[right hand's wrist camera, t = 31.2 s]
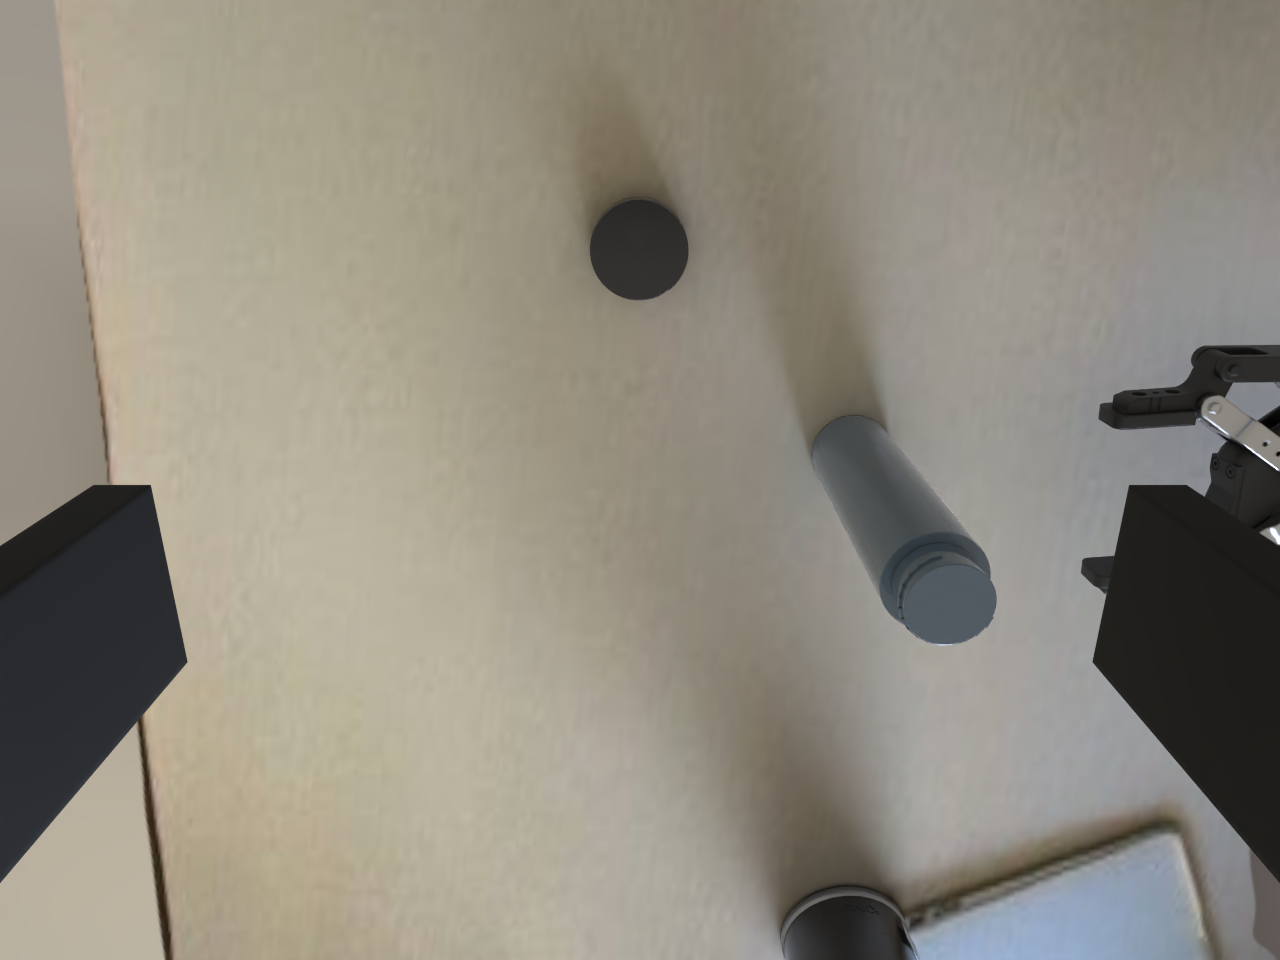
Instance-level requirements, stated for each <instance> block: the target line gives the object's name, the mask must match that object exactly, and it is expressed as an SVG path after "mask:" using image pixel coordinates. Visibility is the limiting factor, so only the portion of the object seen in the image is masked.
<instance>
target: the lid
mask: <svg viewBox="0 0 1280 960" xmlns="http://www.w3.org/2000/svg"><path fill="white" fill-rule="evenodd" d="M590 256H591V262H592V266H593V268H594V271H595V273H596V275H597V277H598V278H599V280H600V281H601V282H602V283H603V284H604V286H605V287H606V288H608V289H609V290H610V291H611V292H613V293H615V294H616V295H618V296H621V297H623V298H626V299H630V300H648V299H652V298H655V297H658V296H660V295H662V294H664V293H666V292H667V291H668V290H670V289H671V288H672V287H673V286H674V285H675V284H676V283H677V281H678V280H679V279H680V277H681V276H682V274H683V272H684V269H685V267H686V264H687V259H688V241H687V236H686V233H685V231H684V228H683V226H682V224H681V222H680V220H679V218H678V217H677V216H676V214H675V213H674V212H673V211H672V210H671V209H670V208H669V207H668V206H666V205H665V204H663V203H661V202H659V201H657V200H655V199H651V198H647V197H631V198H627V199H624V200H621V201H619V202H617V203H615V204H614V205H612V206H611V207H610V208H608V209H607V210H606V211H605V213H604V214H603V215H602V216H601V218H600V219H599V221H598V223H597V225H596V227H595V229H594V232H593V235H592V238H591V244H590Z"/></svg>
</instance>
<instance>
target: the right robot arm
mask: <svg viewBox="0 0 1280 960" xmlns="http://www.w3.org/2000/svg"><path fill="white" fill-rule="evenodd" d="M186 663H187V657H186V653H185V648H184V643H183V638H182V633H181V629H180V624H179V619H178V614H177V609H176V604H175V600H174V595H173V590H172V585H171V580H170V576H169V571H168V566H167V561H166V556H165V552H164V547H163V542H162V537H161V532H160V527H159V523H158V518H157V513H156V508H155V503H154V499H153V494H152V489H151V485H93V486H91V487H90V488H88V489H87V490H85V491H84V492H82V493H81V494H79V495H78V496H76V497H75V498H73V499H72V500H70V501H68V502H67V503H65V504H64V505H62V506H61V507H59V508H58V509H56V510H55V511H53V512H52V513H50V514H49V515H47V516H46V517H44V518H42V519H41V520H39V521H38V522H36V523H35V524H33V525H32V526H30V527H29V528H27V529H26V530H24V531H23V532H21V533H19V534H18V535H16V536H15V537H13V538H12V539H10V540H9V541H7V542H6V543H4V544H3V545H1V546H0V883H1V881H2V880H3V879H4V878H5V877H6V875H7V874H8V873H9V872H10V871H11V869H12V868H13V867H14V866H15V865H16V864H17V863H18V861H19V860H20V859H21V858H22V857H23V855H24V854H25V853H26V852H27V851H28V850H29V848H30V847H31V846H32V845H33V844H34V842H35V841H36V840H37V839H38V838H39V837H40V835H41V834H42V833H43V832H44V831H45V829H46V828H47V827H48V826H49V825H50V824H51V822H52V821H53V820H54V819H55V818H56V816H57V815H58V814H59V813H60V812H61V811H62V809H63V808H64V807H65V806H66V805H67V804H68V802H69V801H70V800H71V799H72V798H73V796H74V795H75V794H76V793H77V792H78V791H79V789H80V788H81V787H82V786H83V785H84V784H85V782H86V781H87V780H88V779H89V778H90V776H91V775H92V774H93V773H94V772H95V770H96V769H97V768H98V767H99V766H100V765H101V763H102V762H103V761H104V760H105V759H106V757H107V756H108V755H109V754H110V753H111V752H112V750H113V749H114V748H115V747H116V746H117V745H118V743H119V742H120V741H121V740H122V739H123V738H124V736H125V735H126V734H127V733H128V732H129V730H130V729H131V728H132V727H133V726H134V725H135V723H136V722H137V721H138V720H139V719H140V717H141V716H142V715H143V714H144V713H145V712H146V710H147V709H148V708H149V707H150V706H151V704H152V703H153V702H154V701H155V700H156V699H157V697H158V696H159V695H160V694H161V693H162V692H163V690H164V689H165V688H166V687H167V686H168V684H169V683H170V682H171V681H172V680H173V679H174V677H175V676H176V675H177V674H178V673H179V671H180V670H181V669H182V668H183V667H184V666H185V664H186ZM1093 663H1094V664H1095V666H1096V667H1097V668H1098V669H1099V670H1100V671H1101V673H1102V674H1103V675H1104V676H1105V677H1106V679H1107V680H1108V681H1109V682H1110V683H1111V684H1112V686H1113V687H1114V688H1115V689H1116V690H1117V692H1118V693H1119V694H1120V695H1121V696H1122V697H1123V699H1124V700H1125V701H1126V702H1127V703H1128V704H1129V706H1130V707H1131V708H1132V709H1133V710H1134V712H1135V713H1136V714H1137V715H1138V716H1139V717H1140V719H1141V720H1142V721H1143V722H1144V723H1145V725H1146V726H1147V727H1148V728H1149V729H1150V730H1151V732H1152V733H1153V734H1154V735H1155V736H1156V738H1157V739H1158V740H1159V741H1160V742H1161V743H1162V745H1163V746H1164V747H1165V748H1166V749H1167V750H1168V752H1169V753H1170V754H1171V755H1172V756H1173V758H1174V759H1175V760H1176V761H1177V762H1178V763H1179V765H1180V766H1181V767H1182V768H1183V769H1184V771H1185V772H1186V773H1187V774H1188V775H1189V776H1190V778H1191V779H1192V780H1193V781H1194V782H1195V784H1196V785H1197V786H1198V787H1199V788H1200V789H1201V791H1202V792H1203V793H1204V794H1205V795H1206V796H1207V798H1208V799H1209V800H1210V801H1211V802H1212V804H1213V805H1214V806H1215V807H1216V808H1217V809H1218V811H1219V812H1220V813H1221V814H1222V815H1223V817H1224V818H1225V819H1226V820H1227V821H1228V822H1229V824H1230V825H1231V826H1232V827H1233V828H1234V829H1235V831H1236V832H1237V833H1238V834H1239V835H1240V837H1241V838H1242V839H1243V840H1244V841H1245V842H1246V844H1247V845H1248V846H1249V847H1250V848H1251V850H1252V851H1253V852H1254V853H1255V854H1256V855H1257V857H1258V858H1259V859H1260V860H1261V861H1262V863H1263V864H1264V865H1265V866H1266V867H1267V868H1268V870H1269V871H1270V872H1271V873H1272V874H1273V875H1274V877H1275V878H1276V879H1277V880H1278V881H1279V883H1280V546H1279V545H1277V544H1276V543H1274V542H1273V541H1271V540H1270V539H1268V538H1267V537H1265V536H1264V535H1262V534H1261V533H1259V532H1257V531H1256V530H1254V529H1253V528H1251V527H1250V526H1248V525H1247V524H1245V523H1244V522H1242V521H1241V520H1239V519H1238V518H1236V517H1235V516H1233V515H1231V514H1230V513H1228V512H1227V511H1225V510H1224V509H1222V508H1221V507H1219V506H1218V505H1216V504H1215V503H1213V502H1212V501H1210V500H1208V499H1207V498H1205V497H1204V496H1202V495H1201V494H1199V493H1198V492H1196V491H1195V490H1193V489H1192V488H1190V487H1189V486H1187V485H1129V489H1128V494H1127V499H1126V503H1125V508H1124V513H1123V518H1122V523H1121V527H1120V532H1119V537H1118V542H1117V547H1116V552H1115V556H1114V561H1113V566H1112V571H1111V576H1110V580H1109V585H1108V590H1107V595H1106V600H1105V604H1104V609H1103V614H1102V619H1101V624H1100V629H1099V633H1098V638H1097V643H1096V648H1095V653H1094V657H1093Z"/></svg>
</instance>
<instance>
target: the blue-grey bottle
mask: <svg viewBox="0 0 1280 960" xmlns="http://www.w3.org/2000/svg"><path fill="white" fill-rule="evenodd" d="M812 464H813V467H814V470H815V472H816V474H817V476H818V478H819V480H820V481H821V483H822V485H823V487H824V489H825V491H826V493H827V495H828V497H829V499H830V501H831V503H832V505H833V507H834V509H835V511H836V513H837V515H838V517H839V519H840V521H841V523H842V525H843V526H844V528H845V530H846V532H847V534H848V536H849V538H850V540H851V542H852V544H853V546H854V548H855V550H856V552H857V554H858V556H859V558H860V560H861V562H862V564H863V566H864V568H865V569H866V571H867V573H868V575H869V577H870V579H871V581H872V583H873V585H874V587H875V589H876V591H877V593H878V595H879V597H880V599H881V601H882V603H883V605H884V606H885V608H886V610H887V611H888V612H889V614H890V615H891V616H892V617H893V618H894V619H896V620H897V621H899V622H900V623H902V624H904V625H905V626H906V628H907V629H908V630H909V631H910V632H911V633H913V634H914V635H915V636H916V637H917V638H920V639H922V640H924V641H926V642H928V643H932V644H936V645H954V644H958V643H961V642H964V641H967V640H969V639H971V638H973V637H974V636H977V635H978V634H979V633H980V632H981V631H983V630H984V629H985V628H987V627H988V625H989V624H990V622H991V621H992V619H993V614H994V611H995V608H996V591H995V588H994V585H993V583H992V582H991V580H990V566H989V562H988V559H987V557H986V555H985V553H984V552H983V551H982V549H981V548H980V547H979V545H978V544H977V543H976V542H975V540H974V539H973V538H972V537H971V535H970V534H969V533H968V532H967V531H966V529H965V528H964V527H963V526H962V524H961V523H960V522H959V521H958V519H957V518H956V517H955V516H954V515H953V513H952V512H951V511H950V510H949V508H948V507H947V506H946V505H945V503H944V502H943V501H942V500H941V499H940V497H939V496H938V495H937V494H936V492H935V491H934V490H933V489H932V487H931V486H930V485H929V484H928V483H927V481H926V480H925V479H924V478H923V476H922V475H921V474H920V473H919V471H918V470H917V469H916V468H915V467H914V465H913V464H912V463H911V462H910V460H909V459H908V458H907V457H906V455H905V454H904V453H903V452H902V451H901V449H900V448H899V447H898V446H897V444H896V443H895V442H894V441H893V439H892V438H891V437H890V436H889V435H888V433H887V432H886V431H885V430H884V428H883V427H882V426H881V425H880V424H878V423H877V422H876V421H874V420H872V419H870V418H868V417H864V416H858V415H851V416H845V417H841V418H838V419H836V420H834V421H832V422H831V423H829V424H828V425H827V426H825V427H824V428H823V429H822V430H821V432H820V433H819V434H818V436H817V437H816V439H815V441H814V444H813V448H812Z"/></svg>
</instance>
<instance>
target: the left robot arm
mask: <svg viewBox="0 0 1280 960" xmlns="http://www.w3.org/2000/svg"><path fill="white" fill-rule="evenodd" d="M1191 363H1192V365H1193V367H1194V368H1193V369H1192V371H1191V373H1190V375H1189V377H1188V379H1187V380H1186V381H1185V382H1184V383H1182V384H1181V385H1179V386H1177V387H1170V388H1156V389H1145V390H1144V389H1141V390H1126V391H1122V392H1120V393H1118V394H1115V395H1114V397H1113V403H1103V404H1100V410H1099V420H1101V421H1103V422H1104V423H1106V424H1107V425H1109V426H1111V427H1112V428H1115V429H1121V430H1129V429H1144V428H1158V427H1173V426H1188V425H1195V422H1196V419H1198V420H1199V422H1200V423H1202V424H1203V425H1204V426H1206V427H1207V428H1208V429H1210V430H1211V431H1213V432H1214V433H1215V434H1217V435H1218V436H1219V437H1221V438H1222V439H1223V440H1225V441H1226V443H1225V444H1224V445H1223V446H1222V447H1221V448H1220V450H1219V452H1218V453H1212V458H1211V464H1210V473H1211V484H1210V486H1209V489H1208V491H1207V493H1206V495H1205V498H1207V499H1208V500H1210V501H1212V502H1213V503H1215V504H1216V505H1218V506H1219V507H1221V508H1222V509H1224V510H1225V511H1227V512H1228V513H1230V514H1231V515H1233V516H1235V517H1236V518H1238V519H1239V520H1241V521H1242V522H1244V523H1245V524H1247V525H1248V526H1250V527H1251V528H1253V529H1254V530H1256V531H1257V532H1259V533H1261V534H1262V535H1264V536H1265V537H1267V538H1268V539H1270V540H1271V541H1273V542H1274V543H1276V544H1277V545H1279V546H1280V406H1278V407H1277V408H1275V409H1274V410H1272V411H1271V412H1270V413H1268V414H1267V415H1265V416H1264V417H1262V418H1261V419H1259V420H1258V421H1256V420H1255V419H1253V418H1251V417H1249V416H1248V415H1247V414H1245V413H1244V412H1243V411H1241V410H1240V409H1239V408H1237V407H1236V406H1235V405H1233V404H1232V403H1231V402H1229V401H1228V400H1227V399H1225V396H1226V394H1227V393H1228V391H1229V389H1230V387H1231V385H1232V383H1233V382H1275V385H1276V386H1277V387H1278V388H1280V345H1231V346H1202V347H1200V348H1198V349H1197V350H1196V351H1195V352H1194V353H1193V355H1192V358H1191ZM1113 561H1114V556H1107V557H1092V558H1085V559H1083V560H1082V569H1081V573H1082V575H1083V576H1084V577H1086V578H1087V579H1088V580H1089V581H1090V582H1091V583H1092V584H1093V585H1094V586H1096V587H1098V588H1099V589H1100V590H1101V591H1102V592H1103V593H1104V594H1107V590H1108V585H1109V580H1110V576H1111V571H1112V566H1113ZM781 944H782V950H783V954H784V958H785V960H917V959H916V956H915V953H916V955H917V957H918V958H919V956H918V953H917V950H916V947H915V945H914V943H913V941H912V939H911V937H910V936H909V933H908V928H907V925H906V922H905V919H904V916H903V914H902V912H901V911H900V909H899V908H898V907H897V905H896V904H895V903H894V902H893V901H891V900H890V899H889V898H887V897H886V896H884V895H883V894H881V893H878V892H876V891H873V890H870V889H866V888H861V887H851V886H848V887H836V888H830V889H826V890H823V891H820V892H817V893H815V894H813V895H811V896H809V897H807V898H806V899H804V900H803V901H801V902H800V903H799V904H798V905H796V906H795V907H794V908H793V909H792V911H791V912H790V913H789V914H788V916H787V918H786V919H785V921H784V924H783V927H782V931H781ZM913 949H914V950H913ZM914 951H915V953H914ZM919 960H920V959H919Z"/></svg>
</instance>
